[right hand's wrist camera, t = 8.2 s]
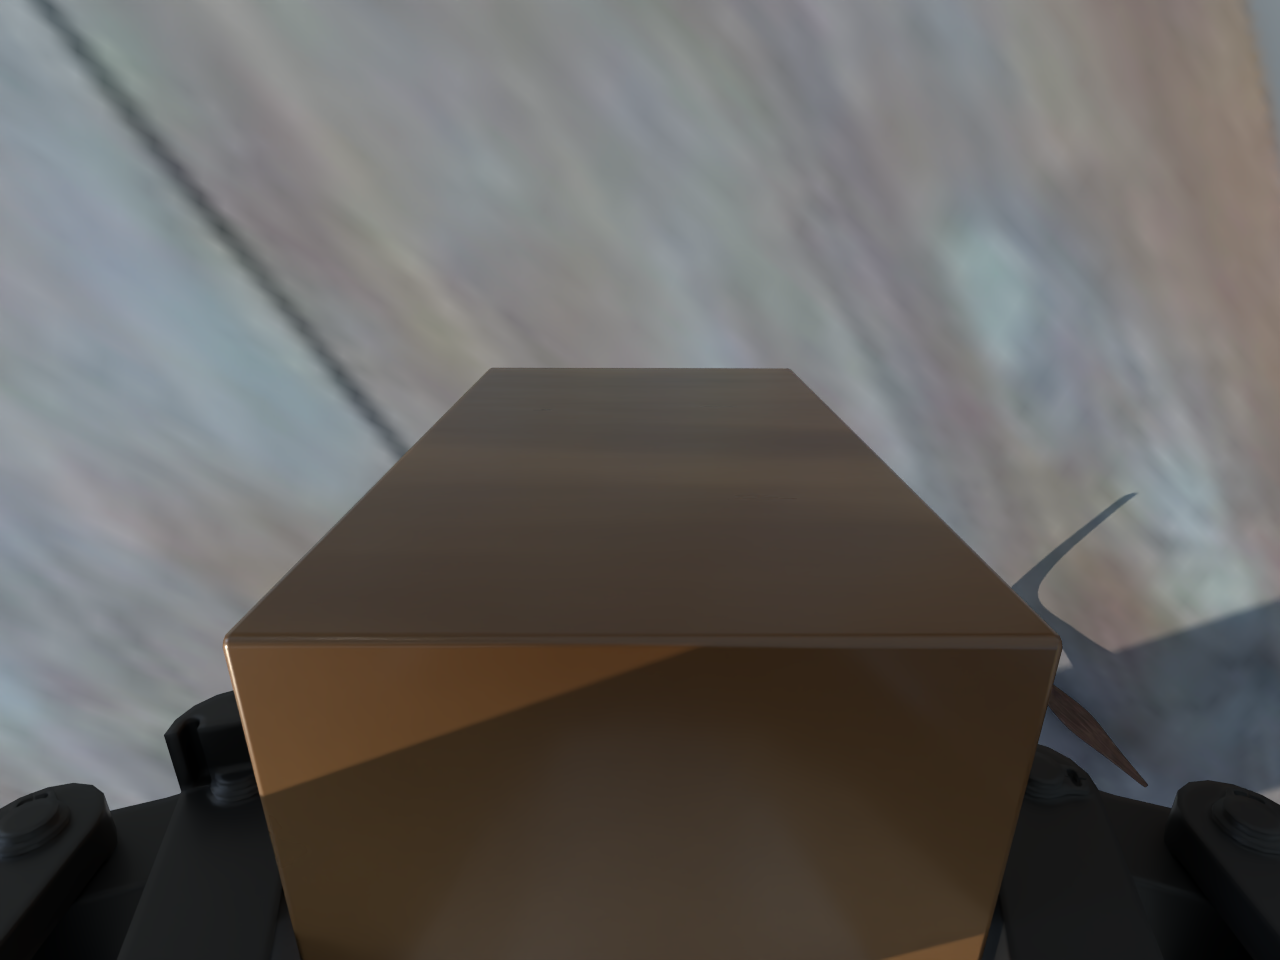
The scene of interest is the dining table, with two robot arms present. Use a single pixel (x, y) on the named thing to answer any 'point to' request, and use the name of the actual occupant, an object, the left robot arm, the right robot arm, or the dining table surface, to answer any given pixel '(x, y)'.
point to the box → (641, 689)
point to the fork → (1089, 730)
